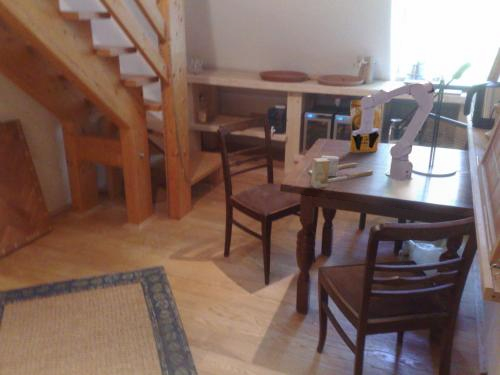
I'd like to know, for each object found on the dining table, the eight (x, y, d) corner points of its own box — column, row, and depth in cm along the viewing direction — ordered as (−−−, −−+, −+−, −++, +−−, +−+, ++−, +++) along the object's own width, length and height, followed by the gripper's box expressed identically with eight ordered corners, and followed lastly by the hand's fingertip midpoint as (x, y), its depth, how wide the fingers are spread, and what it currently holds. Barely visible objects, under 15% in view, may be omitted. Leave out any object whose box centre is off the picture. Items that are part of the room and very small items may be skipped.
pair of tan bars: (372, 174, 206) (372, 171, 205) (347, 178, 201) (348, 175, 200) (355, 165, 217) (355, 162, 217) (331, 169, 212) (331, 166, 212)
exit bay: (347, 178, 200) (347, 176, 200) (324, 182, 196) (325, 180, 195) (330, 169, 212) (330, 167, 212) (308, 172, 208) (308, 170, 207)
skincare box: (314, 188, 189) (316, 161, 185) (310, 184, 193) (312, 158, 189) (328, 187, 191) (330, 160, 186) (324, 183, 195) (325, 157, 190)
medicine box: (337, 174, 206) (338, 156, 203) (336, 177, 202) (338, 159, 199) (320, 172, 208) (321, 155, 205) (319, 175, 204) (320, 157, 201)
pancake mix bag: (343, 149, 242) (348, 99, 231) (376, 148, 245) (382, 98, 234) (348, 153, 236) (352, 101, 225) (381, 151, 239) (387, 100, 228)
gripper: (374, 117, 213) (371, 144, 218) (349, 120, 207) (347, 148, 213) (383, 120, 207) (380, 148, 212) (358, 123, 201) (355, 152, 207)
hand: (364, 148), depth 212 cm, fingers open, 7 cm apart
